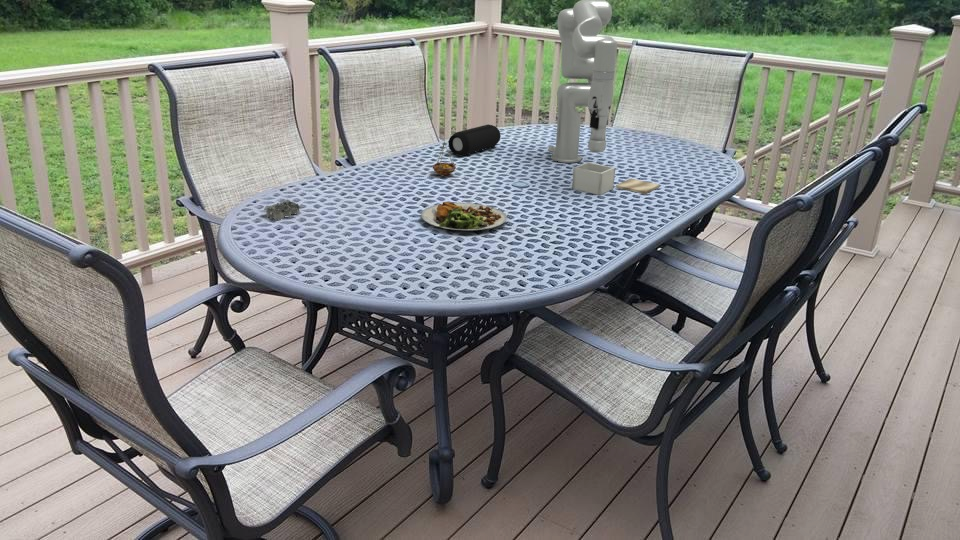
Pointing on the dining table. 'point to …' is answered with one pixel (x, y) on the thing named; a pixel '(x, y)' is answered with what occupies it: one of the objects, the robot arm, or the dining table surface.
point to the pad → (637, 186)
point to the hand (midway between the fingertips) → (598, 126)
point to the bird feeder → (444, 167)
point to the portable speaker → (474, 139)
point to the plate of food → (463, 216)
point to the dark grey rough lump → (282, 209)
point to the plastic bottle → (599, 133)
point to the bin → (593, 178)
